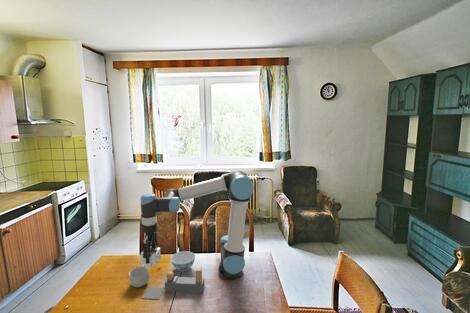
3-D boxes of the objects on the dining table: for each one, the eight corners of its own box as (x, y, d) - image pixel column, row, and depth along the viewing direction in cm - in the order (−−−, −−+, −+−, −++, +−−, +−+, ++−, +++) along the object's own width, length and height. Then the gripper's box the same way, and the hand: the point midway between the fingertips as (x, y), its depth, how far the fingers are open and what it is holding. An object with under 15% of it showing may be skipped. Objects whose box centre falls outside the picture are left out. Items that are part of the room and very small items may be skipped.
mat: (164, 288, 143) (164, 287, 143) (158, 299, 135) (158, 298, 135) (148, 287, 144) (148, 287, 144) (141, 298, 135) (141, 298, 135)
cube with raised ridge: (160, 258, 139) (160, 246, 138) (156, 264, 133) (155, 252, 132) (146, 257, 140) (145, 245, 139) (141, 264, 134) (140, 251, 133)
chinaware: (198, 263, 168) (198, 252, 167) (190, 276, 154) (190, 264, 153) (177, 261, 171) (176, 250, 170) (167, 274, 156) (166, 262, 155)
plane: (204, 286, 145) (203, 266, 143) (202, 292, 140) (201, 272, 138) (168, 284, 147) (167, 265, 145) (164, 291, 141) (163, 270, 139)
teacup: (143, 291, 141) (142, 277, 140) (125, 288, 143) (124, 275, 142) (155, 276, 155) (155, 263, 154) (139, 274, 157) (138, 261, 156)
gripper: (149, 216, 143) (151, 254, 147) (133, 231, 124) (136, 275, 127) (163, 216, 143) (164, 255, 146) (148, 231, 124) (151, 275, 127)
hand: (151, 264), depth 137 cm, fingers closed on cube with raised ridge, 6 cm apart
